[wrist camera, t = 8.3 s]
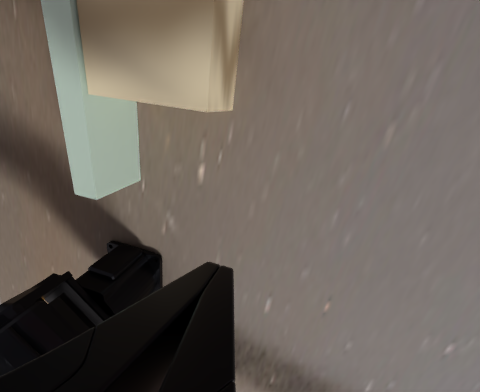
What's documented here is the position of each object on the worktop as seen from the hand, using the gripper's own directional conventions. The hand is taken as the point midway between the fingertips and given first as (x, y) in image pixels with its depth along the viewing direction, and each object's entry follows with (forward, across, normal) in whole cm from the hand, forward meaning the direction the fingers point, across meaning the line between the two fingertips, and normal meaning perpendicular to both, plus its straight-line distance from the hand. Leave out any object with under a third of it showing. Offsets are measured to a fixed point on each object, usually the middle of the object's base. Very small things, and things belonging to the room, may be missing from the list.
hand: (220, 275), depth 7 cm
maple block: (+12, +8, -8) cm, 17 cm away
